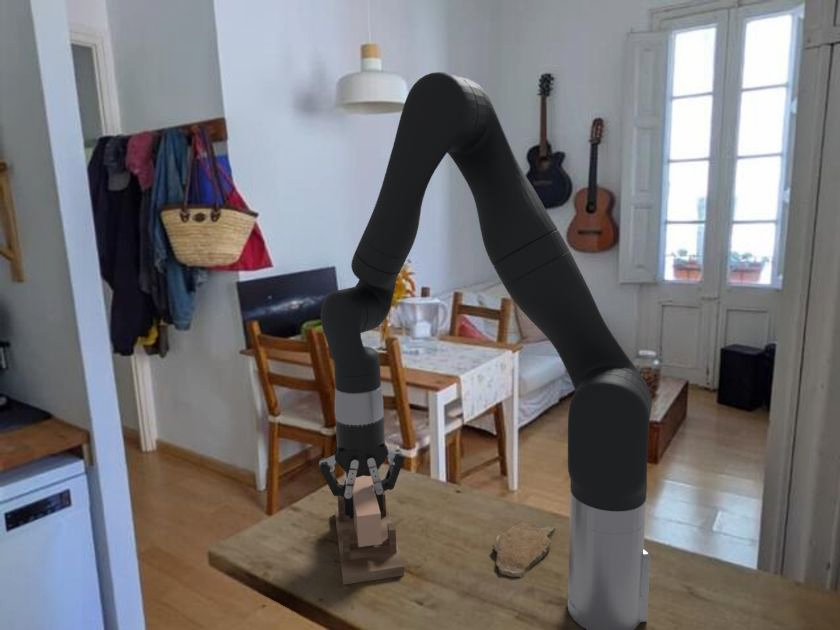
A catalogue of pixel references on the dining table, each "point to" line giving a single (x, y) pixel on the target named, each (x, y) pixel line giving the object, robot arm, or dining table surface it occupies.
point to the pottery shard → (522, 547)
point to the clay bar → (366, 512)
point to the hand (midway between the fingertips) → (364, 514)
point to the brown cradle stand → (367, 549)
